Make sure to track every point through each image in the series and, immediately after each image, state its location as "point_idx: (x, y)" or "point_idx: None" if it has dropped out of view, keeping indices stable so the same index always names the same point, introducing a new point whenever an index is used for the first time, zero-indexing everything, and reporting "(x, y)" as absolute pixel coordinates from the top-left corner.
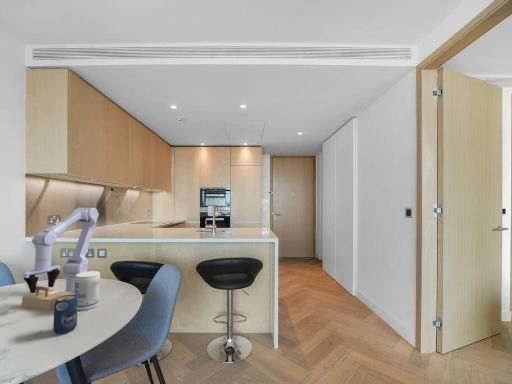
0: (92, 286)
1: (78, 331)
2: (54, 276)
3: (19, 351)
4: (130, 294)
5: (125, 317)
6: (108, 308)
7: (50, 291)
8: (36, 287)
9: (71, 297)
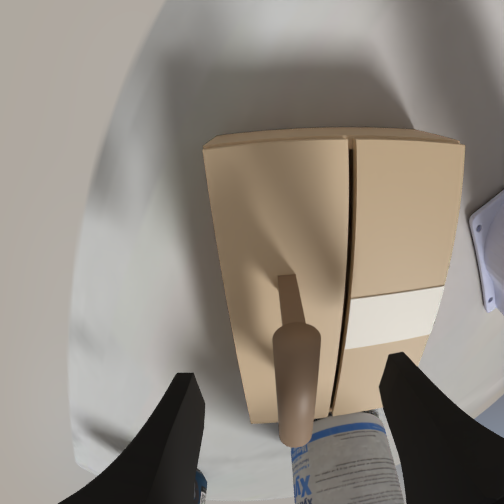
0: None
1: None
2: (406, 499)
3: (93, 452)
4: None
5: (291, 495)
6: None
7: (416, 271)
8: (276, 358)
9: None
